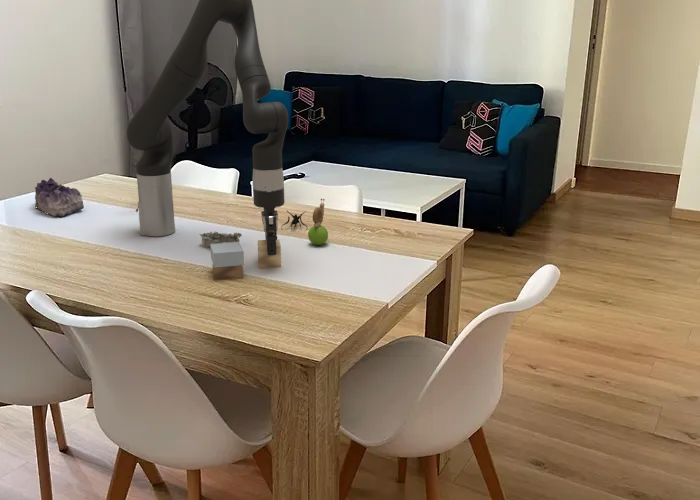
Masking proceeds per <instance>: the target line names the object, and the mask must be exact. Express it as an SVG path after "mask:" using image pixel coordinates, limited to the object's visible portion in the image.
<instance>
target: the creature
mask: <svg viewBox="0 0 700 500" xmlns="http://www.w3.org/2000/svg"><path fill="white" fill-rule="evenodd" d="M286 212H287V213H288V214H289V215H290V216H291V217H292V218H293V219H292V220H291V223H290V225H289V227H288V229H289V230H290V231H293V229H295V227H297V225H298V224H299V227H300V230H302V231H303V229H302V226H301V224H302V225H303V226H304V227H306V229H305V231H307V230H308V226H307V224H305V223H304V222H303V221H302V215H304V214H305V213H306V212H307V211H306V210H305V211H303V212H302V213H301V214H300V215H297V214H292V212H290V211H288V210H286ZM290 216H287V221H286V222H285V223H283V224H282V225H281V227H280V229H281V230H284V229H283V228H282V227H283V226H285V225H287V224H288V223H289V222H290V218H291V217H290ZM285 230H287V228H285Z"/></svg>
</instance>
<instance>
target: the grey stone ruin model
mask: <svg viewBox="0 0 700 500" xmlns="http://www.w3.org/2000/svg"><path fill="white" fill-rule="evenodd" d="M198 235H199V236H200V237H201V246H202V247H204V248H207V247H210V244H219V243H232V242H240V238H241V237H242V236H243V235H242V233H240V232H234V233H229V234H228V233H226V232H225V233H223V232H221V233H219V232H218V231H214V232H212V231H210V232H203V233H202V234H201V233H199V234H198Z"/></svg>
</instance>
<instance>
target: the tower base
mask: <svg viewBox="0 0 700 500" xmlns="http://www.w3.org/2000/svg"><path fill="white" fill-rule="evenodd" d="M243 266H244V265H238V266H226V267H215V268H214V265H213V264H212V280H213V281H214V280H235V279H236V280H237V279H244V270H243V268H244V267H243Z"/></svg>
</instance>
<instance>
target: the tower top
mask: <svg viewBox="0 0 700 500" xmlns="http://www.w3.org/2000/svg"><path fill="white" fill-rule="evenodd" d="M244 253H245V252H244V249H243V247H242V245H241V243H240V241H239V242H232V243H219V244H210V258H211V259H210V260H211V262H212V266H213V265H214V268H215V267H226V266H238V265H243V266H245V256H244Z"/></svg>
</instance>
